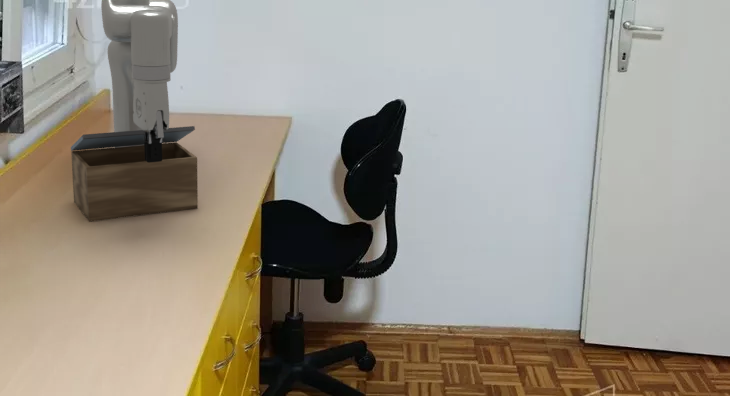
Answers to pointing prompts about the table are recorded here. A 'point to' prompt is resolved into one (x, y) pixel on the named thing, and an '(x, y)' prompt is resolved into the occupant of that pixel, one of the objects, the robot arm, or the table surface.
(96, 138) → the lid flap
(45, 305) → the table surface
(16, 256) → the table surface
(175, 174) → the wooden box
